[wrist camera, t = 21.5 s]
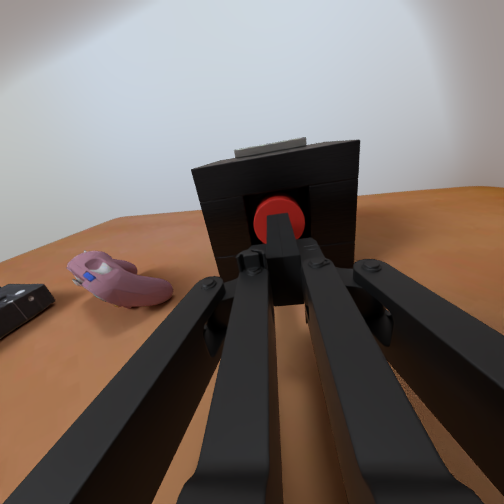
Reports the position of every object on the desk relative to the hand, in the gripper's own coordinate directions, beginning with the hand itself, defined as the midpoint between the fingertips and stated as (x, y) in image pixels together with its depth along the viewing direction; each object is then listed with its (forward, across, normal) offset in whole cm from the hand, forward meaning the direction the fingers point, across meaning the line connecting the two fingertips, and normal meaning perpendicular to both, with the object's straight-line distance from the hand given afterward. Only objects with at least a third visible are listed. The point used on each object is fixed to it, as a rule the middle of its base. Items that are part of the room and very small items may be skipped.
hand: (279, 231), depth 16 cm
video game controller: (+2, -16, -6) cm, 17 cm away
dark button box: (+7, 0, -6) cm, 9 cm away
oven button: (+3, 0, -2) cm, 3 cm away
